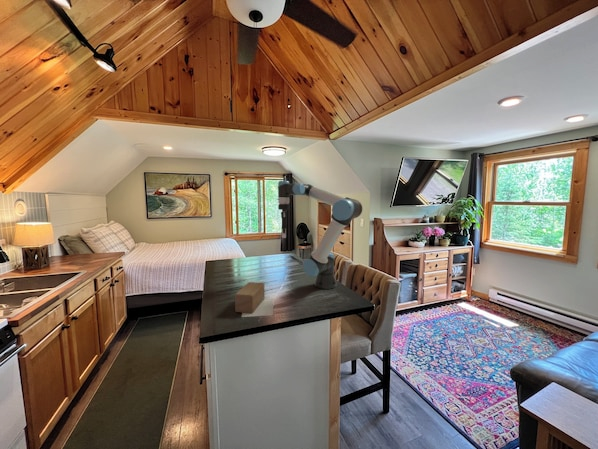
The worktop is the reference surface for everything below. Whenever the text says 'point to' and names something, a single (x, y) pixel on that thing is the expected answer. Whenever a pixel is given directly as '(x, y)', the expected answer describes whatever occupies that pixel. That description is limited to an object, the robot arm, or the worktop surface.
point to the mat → (262, 309)
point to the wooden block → (249, 297)
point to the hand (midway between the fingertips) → (284, 237)
